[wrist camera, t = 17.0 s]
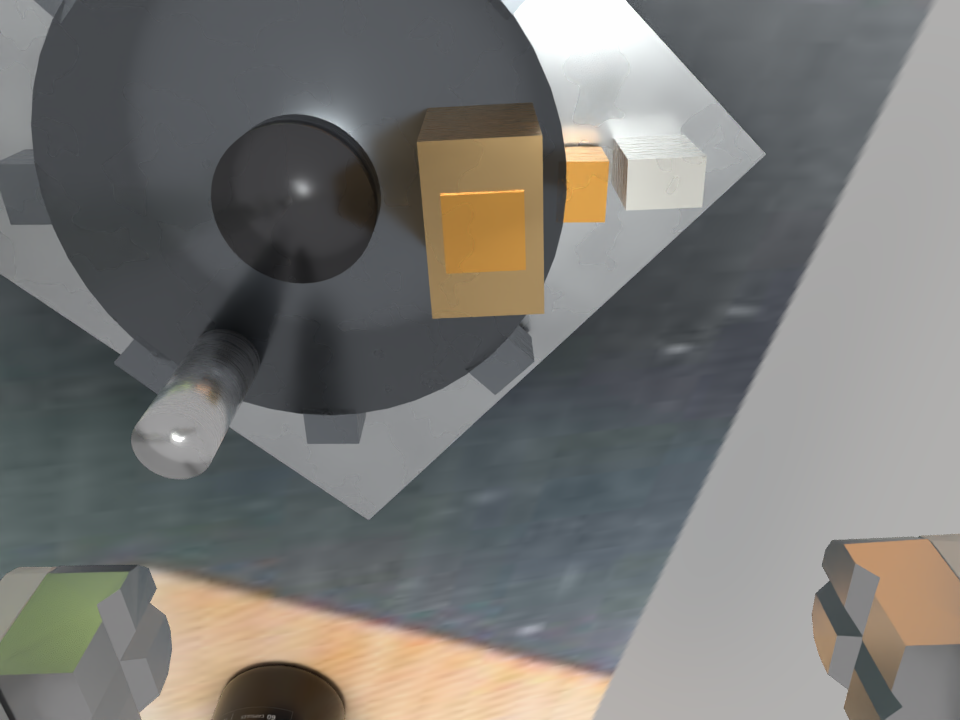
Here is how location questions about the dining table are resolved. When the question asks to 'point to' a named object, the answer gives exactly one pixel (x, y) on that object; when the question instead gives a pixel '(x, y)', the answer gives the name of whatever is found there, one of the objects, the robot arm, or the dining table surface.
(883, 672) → the robot arm
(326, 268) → the sprocket
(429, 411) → the base plate
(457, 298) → the tan block
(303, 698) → the supplement bottle
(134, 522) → the dining table surface
